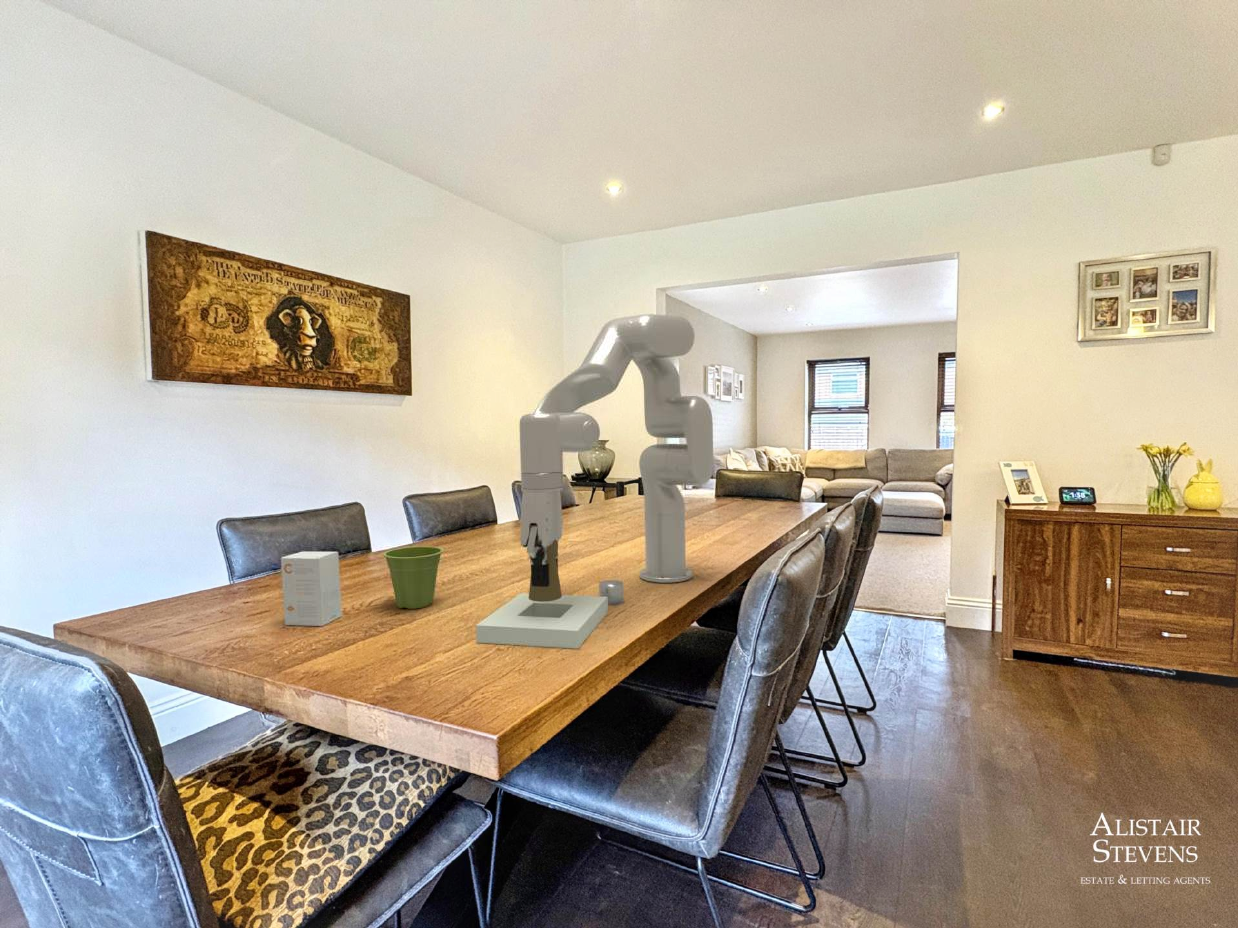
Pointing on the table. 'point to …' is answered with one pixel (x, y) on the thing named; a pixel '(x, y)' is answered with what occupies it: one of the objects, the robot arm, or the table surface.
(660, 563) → the robot arm
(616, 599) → the short metal pin
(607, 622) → the table surface
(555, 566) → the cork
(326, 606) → the small box
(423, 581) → the plant pot
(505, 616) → the hole board
